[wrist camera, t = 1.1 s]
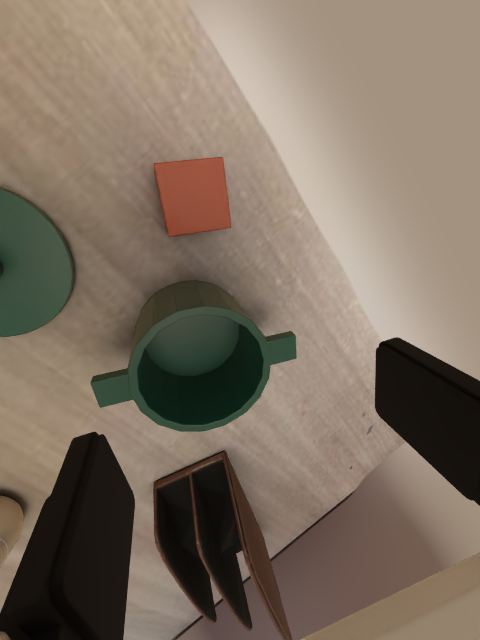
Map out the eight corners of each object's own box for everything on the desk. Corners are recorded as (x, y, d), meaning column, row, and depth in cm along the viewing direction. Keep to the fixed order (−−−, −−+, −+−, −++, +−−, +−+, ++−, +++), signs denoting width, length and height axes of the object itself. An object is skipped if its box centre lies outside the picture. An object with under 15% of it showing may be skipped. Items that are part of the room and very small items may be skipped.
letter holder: (225, 448, 37) (259, 571, 25) (261, 531, 46) (301, 655, 33) (152, 481, 36) (149, 628, 24) (203, 560, 44) (221, 700, 32)
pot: (92, 297, 27) (66, 332, 19) (262, 267, 30) (297, 287, 22) (125, 395, 31) (115, 456, 23) (269, 360, 34) (301, 403, 27)
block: (154, 171, 24) (153, 163, 20) (211, 166, 25) (223, 156, 21) (166, 232, 26) (168, 236, 22) (219, 224, 27) (231, 227, 23)
